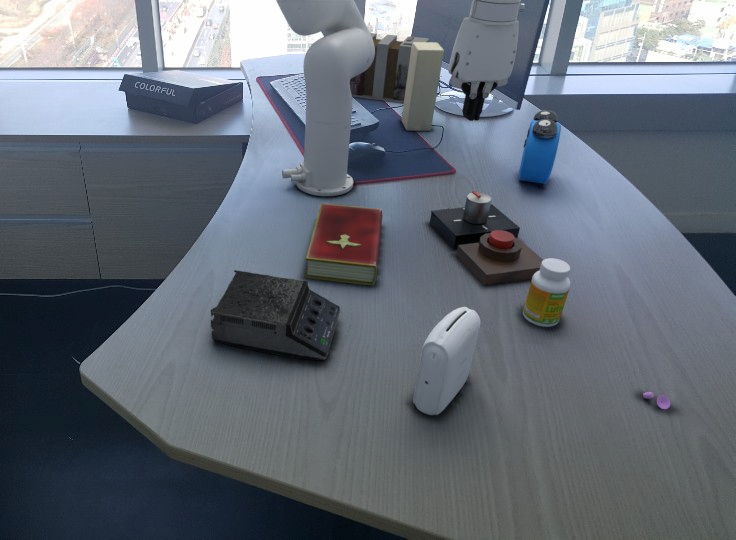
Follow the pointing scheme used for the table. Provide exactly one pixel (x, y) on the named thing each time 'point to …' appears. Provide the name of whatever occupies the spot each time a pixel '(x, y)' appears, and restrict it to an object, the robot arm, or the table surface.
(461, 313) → the photo printer
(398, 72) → the bookend
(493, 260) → the button block
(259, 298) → the electronic device
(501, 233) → the button
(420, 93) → the toy refrigerator
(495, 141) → the table surface
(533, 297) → the supplement bottle
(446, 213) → the control panel
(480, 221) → the timer knob
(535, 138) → the alarm clock
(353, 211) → the hardcover book
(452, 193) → the table surface
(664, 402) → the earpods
